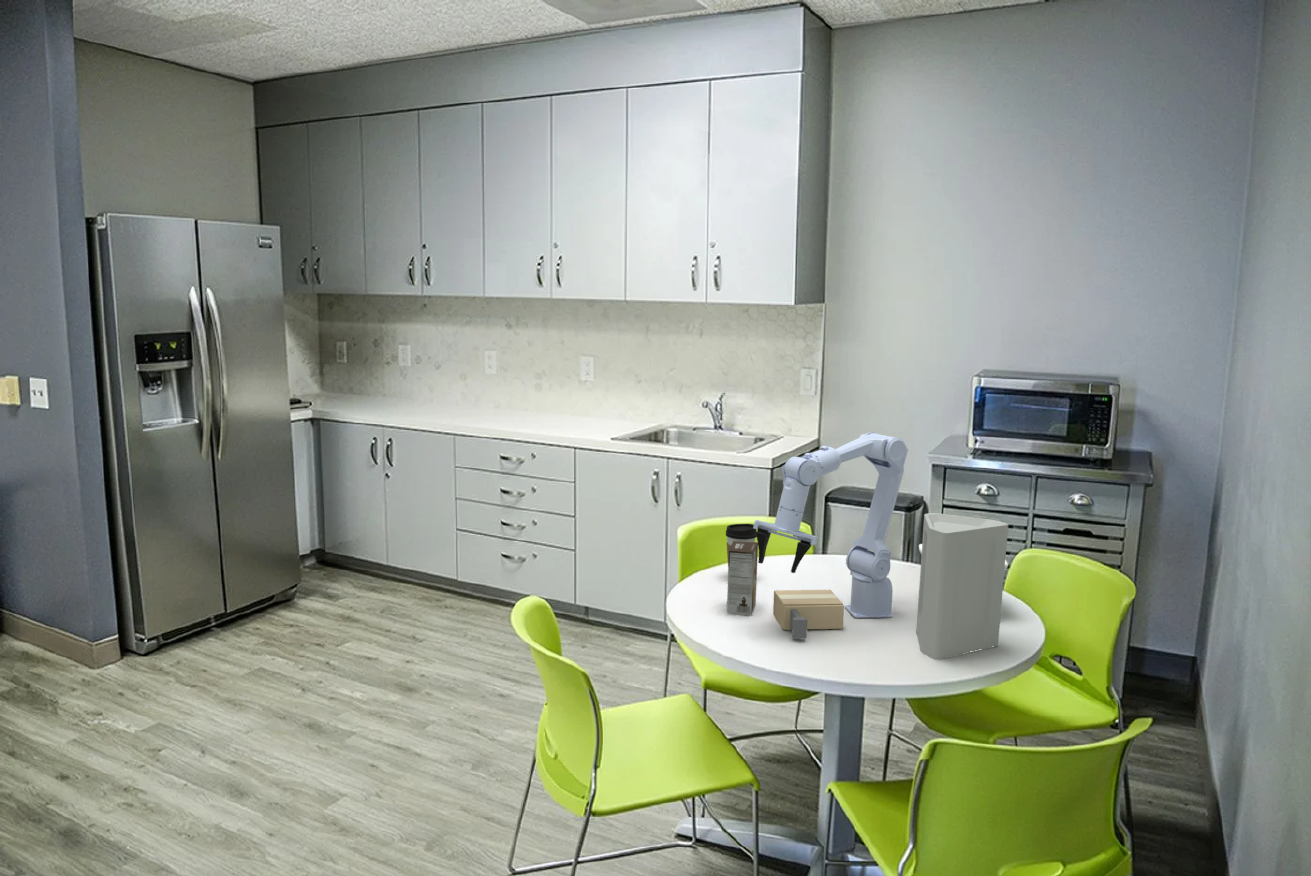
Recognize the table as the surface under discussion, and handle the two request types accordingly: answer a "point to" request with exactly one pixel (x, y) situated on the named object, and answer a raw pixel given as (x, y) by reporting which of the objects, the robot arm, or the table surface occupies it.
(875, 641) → the table surface
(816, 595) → the carton
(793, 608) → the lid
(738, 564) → the coffee box
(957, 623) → the grey triangular prism
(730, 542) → the coffee cup
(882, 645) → the table surface
